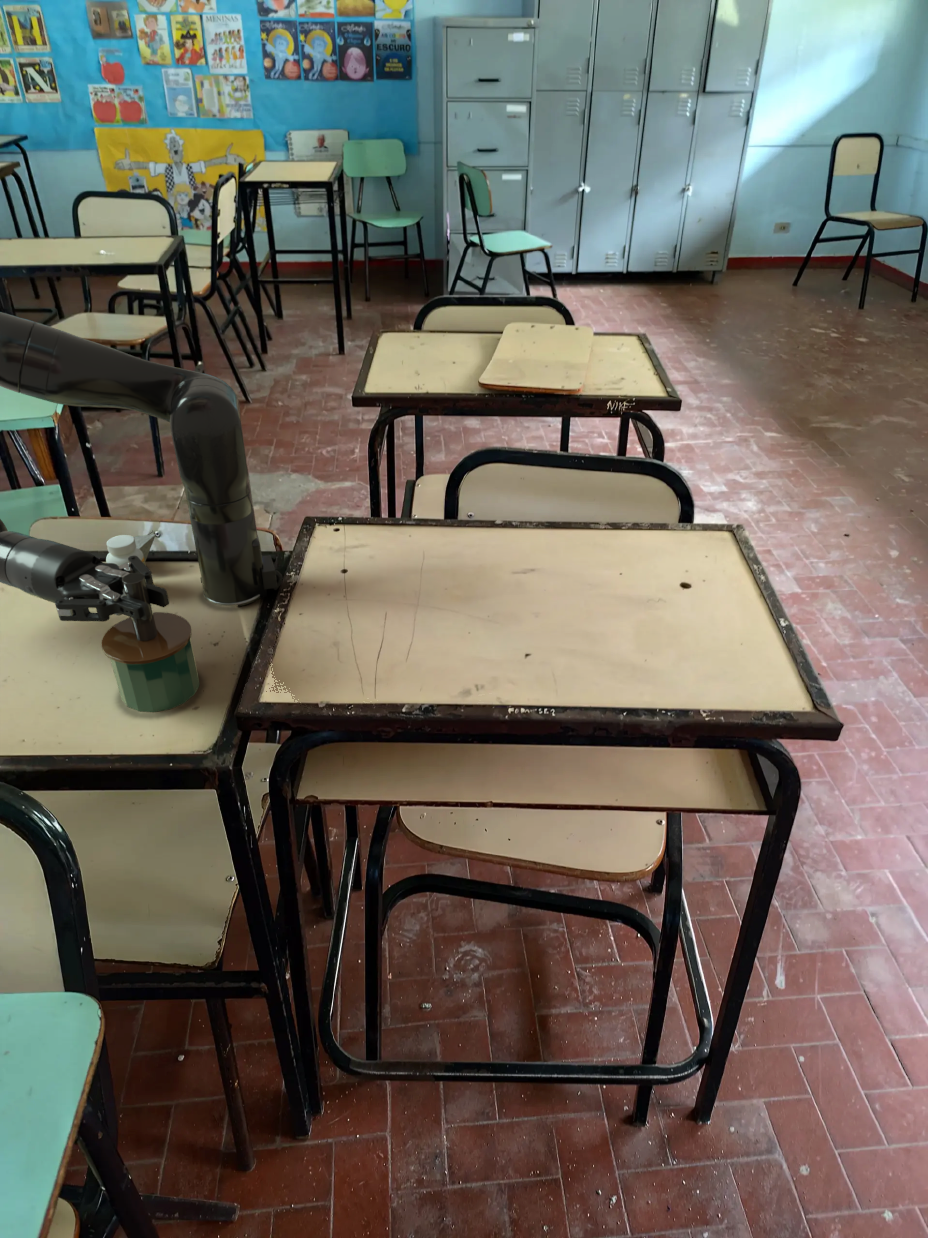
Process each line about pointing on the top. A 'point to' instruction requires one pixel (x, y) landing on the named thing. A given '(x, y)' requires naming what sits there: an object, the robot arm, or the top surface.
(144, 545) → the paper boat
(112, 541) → the supplement bottle
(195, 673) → the canister
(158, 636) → the lid
